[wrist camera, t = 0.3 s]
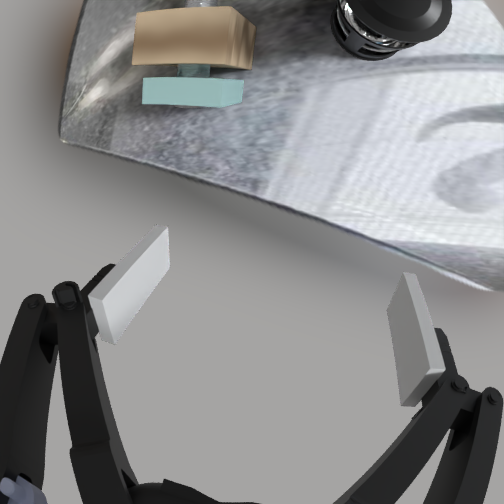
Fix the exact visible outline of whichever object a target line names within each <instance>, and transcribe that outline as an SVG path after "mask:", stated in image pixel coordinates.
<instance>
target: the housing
mask: <svg viewBox="0 0 504 504" xmlns="http://www.w3.org/2000/svg"><path fill="white" fill-rule="evenodd" d="M255 35H256V27H255V26H254V25H253V24H252V23H251V22H249V21H248V20H247V19H246V18H245V17H244V16H242V15H241V14H240V13H239V12H237V11H236V10H235V9H234V8H233V7H230V6H219V7H189V8H175V9H165V10H155V11H147V12H140V13H137V17H136V25H135V34H134V45H133V57H132V65H158V66H178V64H208V65H210V67H220V68H236V69H249V70H251V69H252V60H253V52H254V44H255Z"/></svg>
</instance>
